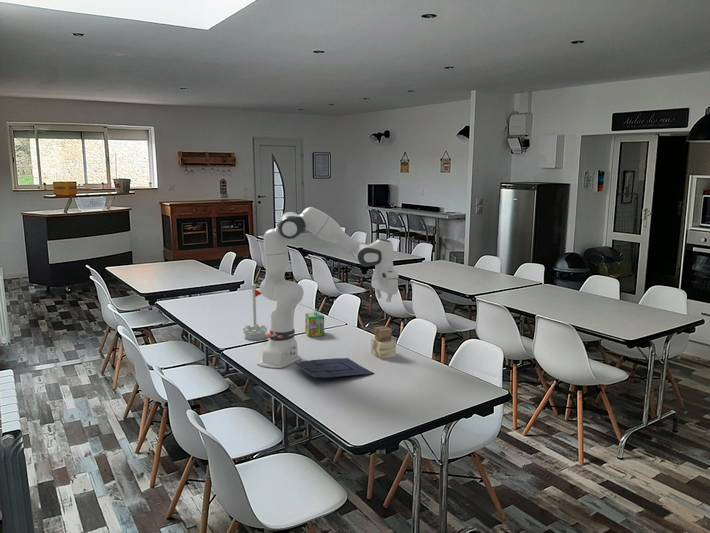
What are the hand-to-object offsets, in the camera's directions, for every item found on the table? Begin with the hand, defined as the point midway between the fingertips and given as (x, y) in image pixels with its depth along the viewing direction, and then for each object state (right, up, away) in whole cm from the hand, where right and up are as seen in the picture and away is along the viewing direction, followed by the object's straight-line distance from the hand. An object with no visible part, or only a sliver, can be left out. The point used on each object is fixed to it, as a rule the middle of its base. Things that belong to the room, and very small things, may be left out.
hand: (383, 299), depth 259 cm
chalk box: (-37, -22, +39) cm, 58 cm away
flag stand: (-70, -23, +36) cm, 82 cm away
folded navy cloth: (-24, -32, -18) cm, 44 cm away
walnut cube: (0, -20, +3) cm, 20 cm away
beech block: (0, -28, +5) cm, 28 cm away
